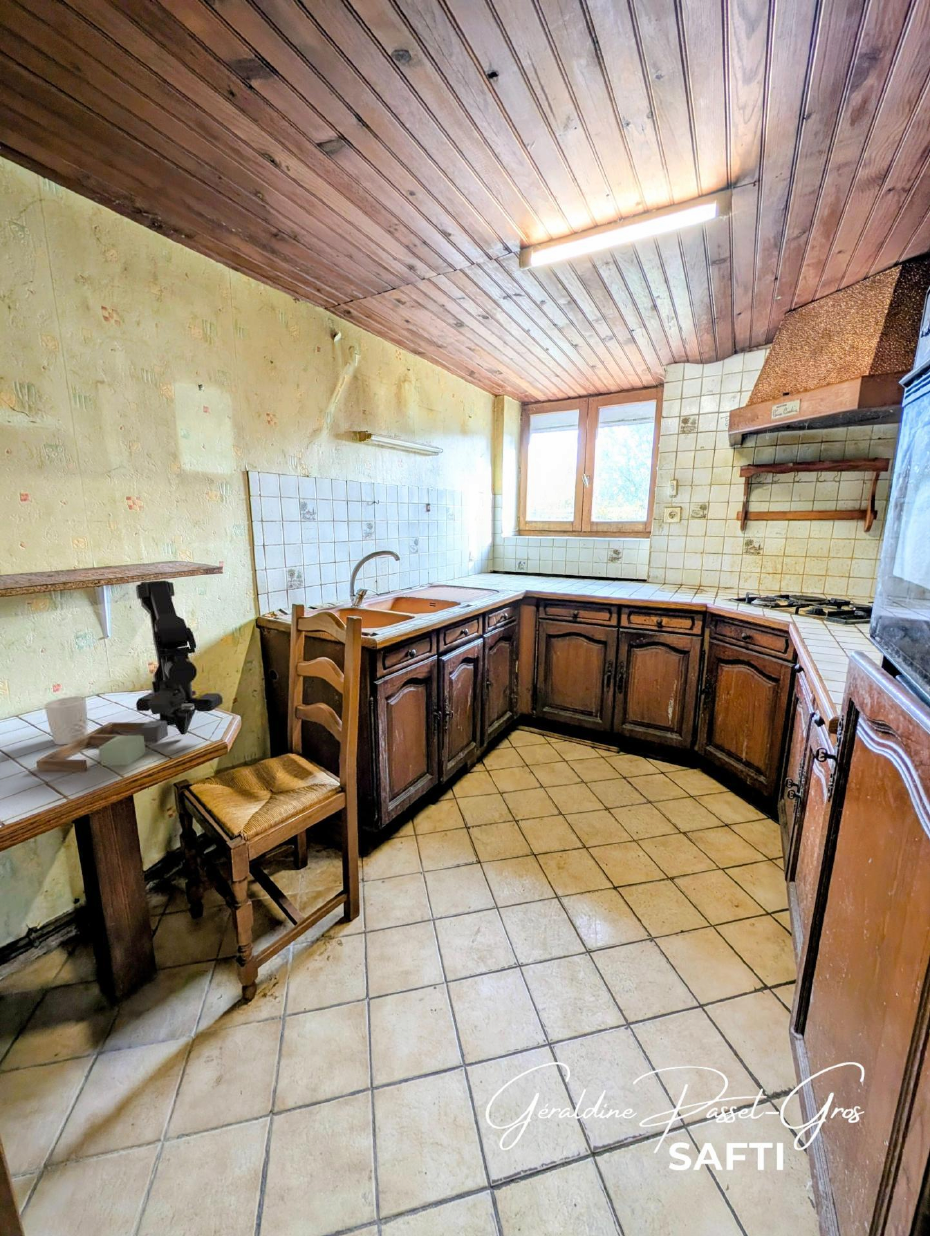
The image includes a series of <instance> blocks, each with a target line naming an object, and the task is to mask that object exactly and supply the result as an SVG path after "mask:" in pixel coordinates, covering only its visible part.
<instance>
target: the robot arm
mask: <svg viewBox="0 0 930 1236" xmlns="http://www.w3.org/2000/svg"><path fill="white" fill-rule="evenodd" d="M174 587H175V586H174V582H171V581H169V580H165V579H164V580H150V581H140V583H139V584H137V585H136V586H135V593H136V598H137V600H140V604H141V605H140V606H141V607H142V608H143V609H144V610H145V611H146V612H147V613H148V614H149V618H150V624H151V630H152V641H153V646H154V648H155V654H156V660H157V667H156V670H155V672H154V674H153V676H152V678H153V681H151V687H150V689H151V692H150V693H148V694H146V695H143V696H142V697H139V698H138V699H136V700H137V701H136V702H135V707H136V711H137V712H139V711H140V712H149V711H151V714H152V715H159V719H156V721H166V722H167V724H174V725H175V727H176V729H177V730H178V732H179V734H180V735H182V736H184V735H186V734H187V733H188V730H189V728H190V725H191V722H192V719H193V717H194V715H195V713H196V711H197V712H212V711H213V710H215V709H216V708H218V707H219V706H220V705H222V704H223V703H224V702H223V696H222V695H221V694H220V693H217V692H216V693H214V692H212V693H211V692H208V693H207V692H206V693H204V694H202V695H201V696H199V697H194V696H195V695H196V694H197V693H196V690H193V687H192V682H193V681H194V680H195V679H196V676H197V673H198V669H197V667H196V665H195V664H194V663H193V661H191V660H190V658H189V654H193V653H196V649H197V642H196V639H195V636H194V631H192V630H191V628H190V627H188V626H187V624H186V621H185V619H184V618H182V617H181V616H178V615H177V612H176V608H175V605H174V603H173V597H175V588H174Z"/></svg>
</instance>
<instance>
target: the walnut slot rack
mask: <svg viewBox="0 0 930 1236" xmlns="http://www.w3.org/2000/svg"><path fill="white" fill-rule="evenodd" d="M146 723H147V722H126V721H125V722H121V721H120V722H118V721H117V722H108V723H106V724H104V725H102V726H100V727H98V728H95V730H93V731H91V732H88V734H87V735H85V736H83V737H81V738H79V739H77V740H75V741H73V742H71V743H70V744H65V745H64V746H62V747H60V748H59V749H56V750H54V751H52V752H51V753H48V754H47V755H45V756H44V757H41V758H39V759H38V760H36V761H35V762H36V767H37V768H36V769H37V771H38V772H56V773H57V772H64V773H65V772H67V773H68V772H71V773H74V772H75V773H77V772H78V773H80V772H81V773H85V772H87V771H88V769H89V768H88V764H87V759H69V758H71V757H72V756H74V755H76V754H78V753H79V752H81V751H83V750H86V748H88V747H91V746H102V745H103V744H105V743H107V742H108V741H110V740H112V739H113V738H115V737H117V736H129V735H128V734H127V733H133V734H134V733H136V734H137V733H139V734H141V730H140V727H141V726H143V725H145V724H146ZM114 733H121V734H114ZM122 733H125V734H122Z"/></svg>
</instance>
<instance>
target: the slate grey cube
mask: <svg viewBox="0 0 930 1236" xmlns="http://www.w3.org/2000/svg"><path fill="white" fill-rule="evenodd" d="M145 723H146V724H145V725H143V726H141V727H140V730H141V733H140V736H144V743H159V742H160V741H162V740H164V739H165V738H167V736H169V731H168V723H167V722H166V721H157V720H150V721H148V722H145Z"/></svg>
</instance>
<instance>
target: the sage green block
mask: <svg viewBox="0 0 930 1236" xmlns="http://www.w3.org/2000/svg"><path fill="white" fill-rule="evenodd" d="M145 745H146V744H145V742H144V736H141V735H128V736H117V737H115V738H113V739H112V740H110V741H108V742H107V743H105V744H103V745H99V747H98V751H99V758H100V764H101V766H130V765H131V764H132V763H134V762H135V761H137V760H138V759H139V758H140V757H143V755H145V754H146V753H147V752H146V746H145Z"/></svg>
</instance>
